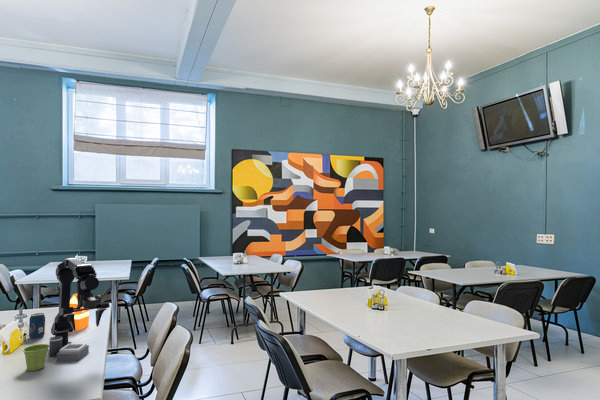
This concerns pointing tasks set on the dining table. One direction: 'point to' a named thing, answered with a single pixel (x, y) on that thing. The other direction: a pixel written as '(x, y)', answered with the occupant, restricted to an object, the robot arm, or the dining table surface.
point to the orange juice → (79, 314)
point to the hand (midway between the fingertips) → (86, 328)
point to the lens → (55, 345)
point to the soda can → (37, 326)
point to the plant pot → (35, 356)
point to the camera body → (72, 352)
